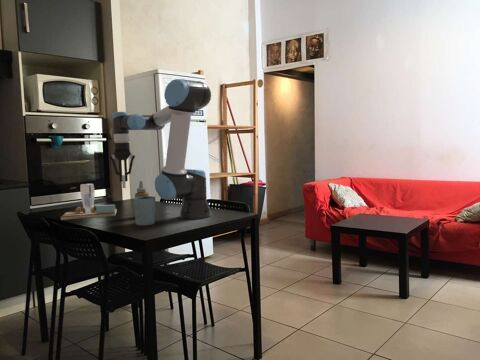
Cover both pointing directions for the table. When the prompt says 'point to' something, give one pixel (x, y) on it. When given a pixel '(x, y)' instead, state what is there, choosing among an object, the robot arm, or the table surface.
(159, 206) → the table surface
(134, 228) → the table surface
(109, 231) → the table surface
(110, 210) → the block
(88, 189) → the beer glass
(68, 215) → the board
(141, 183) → the squeeze bottle
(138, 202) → the drinking glass
